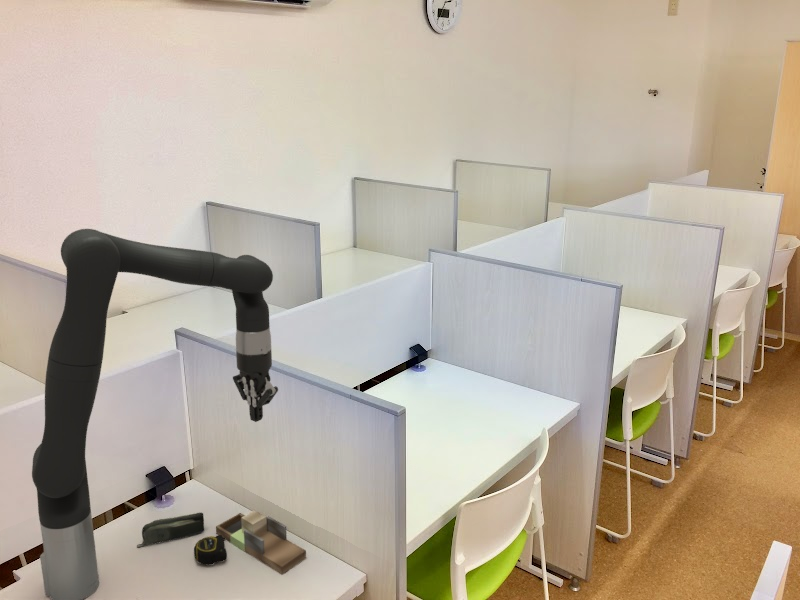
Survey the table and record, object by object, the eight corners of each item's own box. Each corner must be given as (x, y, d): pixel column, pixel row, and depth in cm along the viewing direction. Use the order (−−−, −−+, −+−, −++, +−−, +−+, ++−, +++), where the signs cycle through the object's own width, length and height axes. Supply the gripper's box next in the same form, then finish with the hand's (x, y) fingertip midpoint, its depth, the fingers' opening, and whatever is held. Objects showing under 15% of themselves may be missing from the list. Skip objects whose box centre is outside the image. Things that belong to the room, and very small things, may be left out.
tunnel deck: (306, 558, 152) (305, 536, 150) (282, 574, 146) (281, 552, 145) (240, 520, 165) (239, 500, 163) (216, 533, 159) (215, 513, 158)
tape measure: (227, 565, 149) (226, 550, 148) (194, 570, 147) (194, 556, 146) (225, 546, 155) (224, 532, 154) (194, 551, 153) (193, 537, 152)
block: (266, 531, 157) (266, 516, 156) (253, 539, 154) (252, 524, 153) (255, 524, 160) (255, 510, 158) (242, 532, 157) (241, 517, 155)
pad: (269, 536, 159) (268, 529, 158) (244, 551, 153) (244, 544, 153) (254, 528, 162) (254, 521, 161) (230, 542, 156) (230, 535, 156)
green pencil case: (202, 509, 161) (134, 523, 154) (205, 515, 158) (136, 531, 151) (203, 527, 162) (135, 542, 155) (205, 534, 160) (137, 550, 153)
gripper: (220, 344, 149) (224, 417, 153) (260, 359, 141) (263, 434, 146) (247, 336, 154) (250, 406, 159) (287, 349, 147) (289, 422, 151)
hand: (256, 419), depth 152 cm, fingers closed
